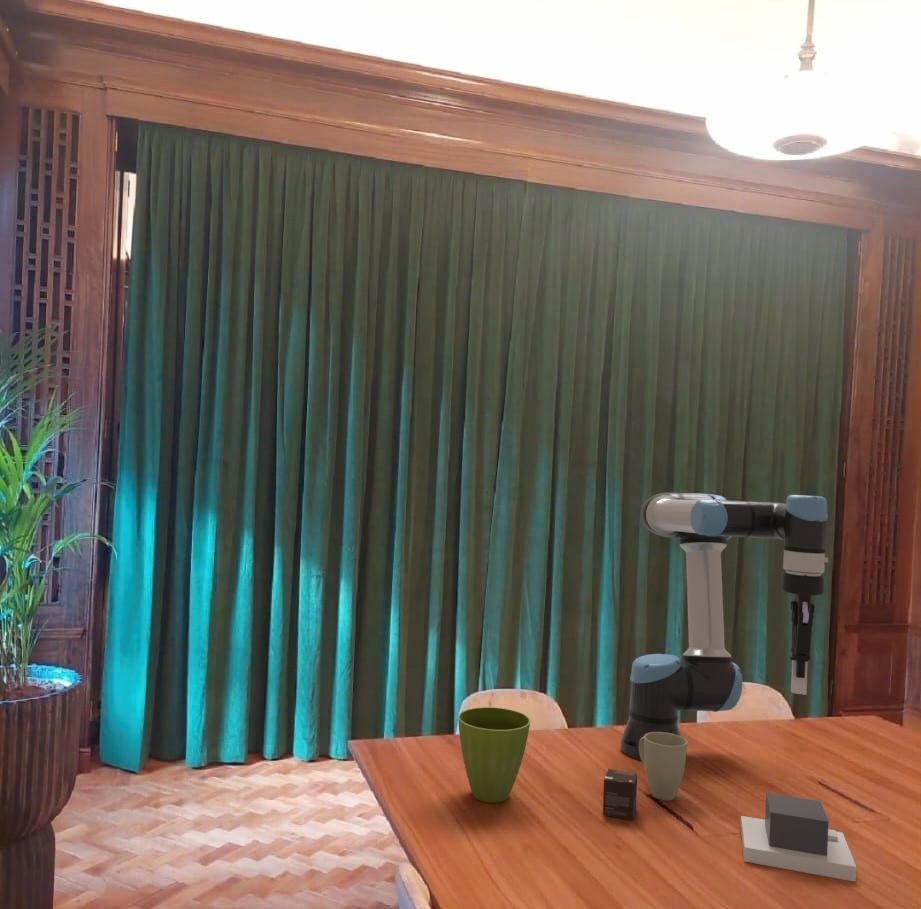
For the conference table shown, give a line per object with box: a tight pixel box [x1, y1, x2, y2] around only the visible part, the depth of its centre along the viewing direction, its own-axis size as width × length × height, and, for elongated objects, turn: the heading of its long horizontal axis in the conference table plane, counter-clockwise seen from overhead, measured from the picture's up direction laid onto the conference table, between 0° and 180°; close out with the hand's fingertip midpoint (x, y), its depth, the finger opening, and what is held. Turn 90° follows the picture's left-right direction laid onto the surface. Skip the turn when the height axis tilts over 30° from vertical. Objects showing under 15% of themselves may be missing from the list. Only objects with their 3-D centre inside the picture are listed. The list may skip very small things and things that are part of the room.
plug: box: [764, 792, 829, 856], centre depth 145 cm, size 10×10×8 cm
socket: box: [740, 815, 857, 882], centre depth 145 cm, size 18×14×3 cm
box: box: [602, 768, 638, 821], centre depth 159 cm, size 6×6×7 cm
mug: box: [639, 732, 688, 801], centre depth 170 cm, size 11×10×12 cm
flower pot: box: [457, 706, 531, 804], centre depth 164 cm, size 15×15×16 cm
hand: (798, 692), depth 157 cm, fingers closed
